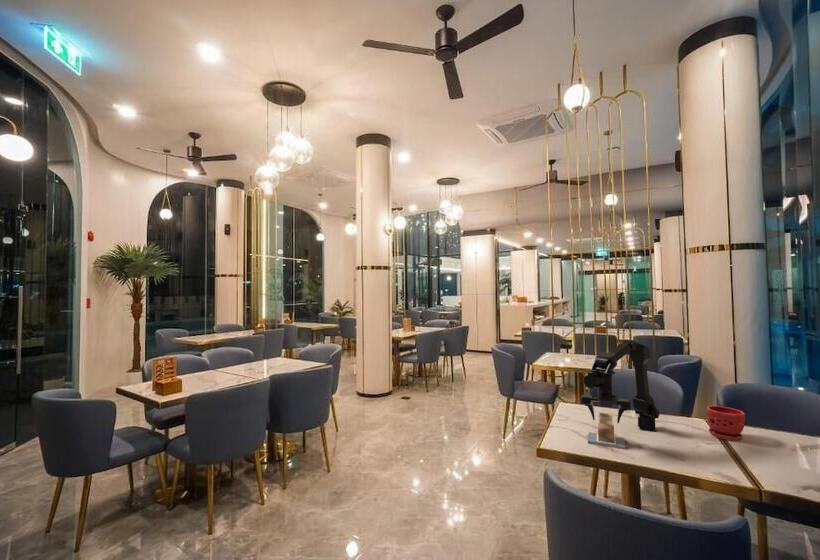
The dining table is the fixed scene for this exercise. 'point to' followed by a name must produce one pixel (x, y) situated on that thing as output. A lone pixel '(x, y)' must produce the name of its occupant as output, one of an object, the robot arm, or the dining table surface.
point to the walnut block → (606, 435)
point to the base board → (618, 442)
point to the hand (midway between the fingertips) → (605, 421)
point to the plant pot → (725, 422)
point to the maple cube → (605, 421)
